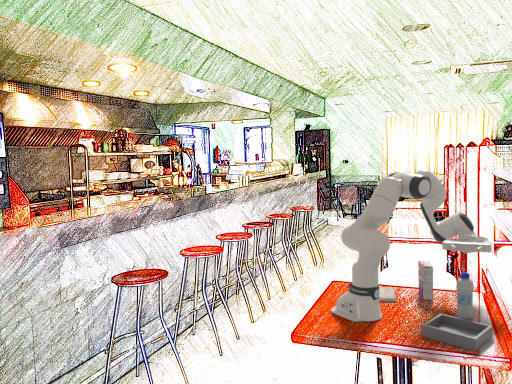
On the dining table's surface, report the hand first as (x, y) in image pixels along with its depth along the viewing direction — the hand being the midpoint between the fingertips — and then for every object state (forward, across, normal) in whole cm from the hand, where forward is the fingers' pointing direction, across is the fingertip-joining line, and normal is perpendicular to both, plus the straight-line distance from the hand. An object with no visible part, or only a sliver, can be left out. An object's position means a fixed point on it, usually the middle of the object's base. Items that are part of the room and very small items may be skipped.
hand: (466, 249), depth 201 cm
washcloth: (-6, -37, +28) cm, 47 cm away
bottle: (+12, 0, +27) cm, 30 cm away
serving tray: (+33, -2, +27) cm, 42 cm away
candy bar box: (-11, -18, +27) cm, 35 cm away
